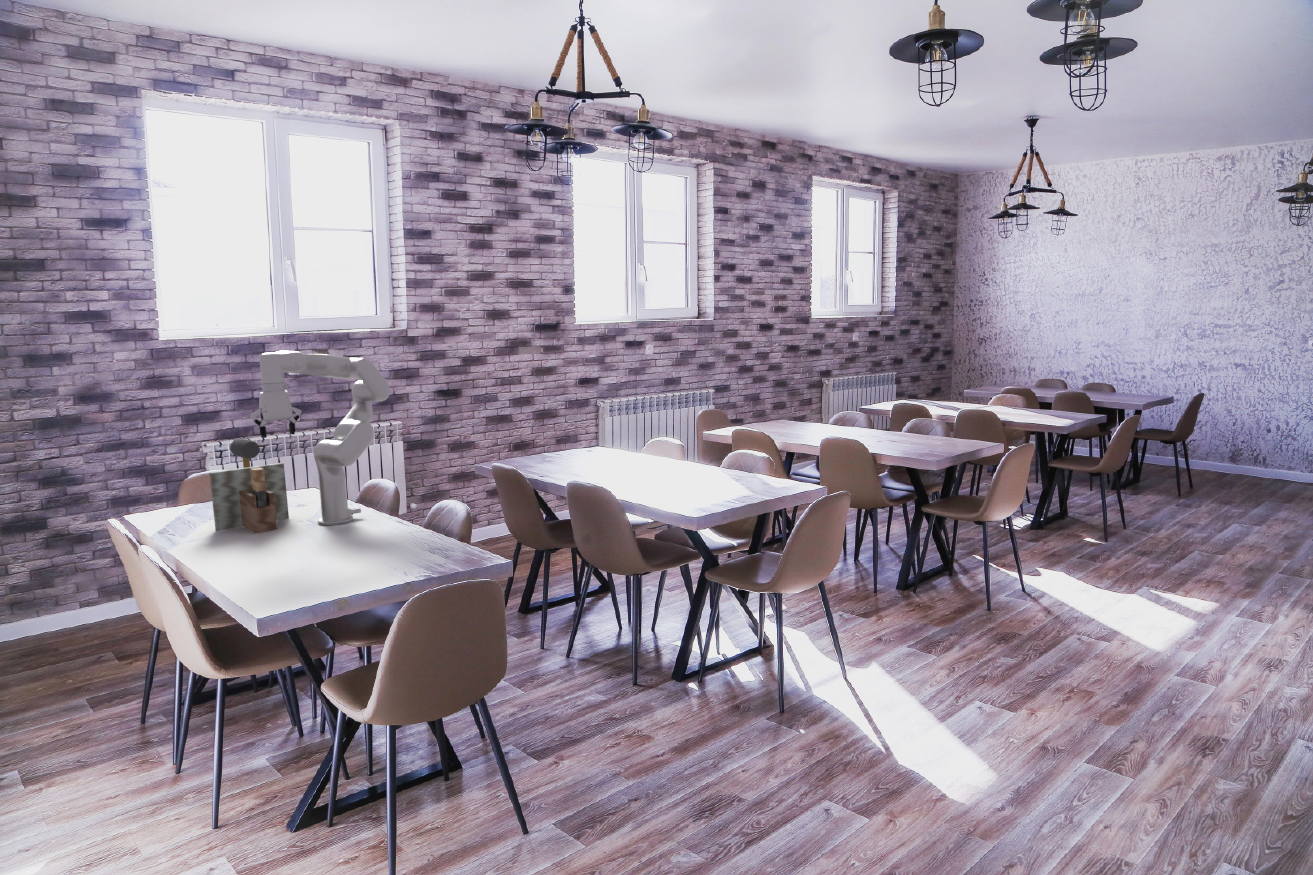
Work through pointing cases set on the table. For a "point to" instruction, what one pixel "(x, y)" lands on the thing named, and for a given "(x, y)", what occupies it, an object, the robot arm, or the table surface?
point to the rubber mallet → (245, 450)
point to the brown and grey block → (259, 486)
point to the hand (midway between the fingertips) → (278, 435)
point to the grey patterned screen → (248, 499)
